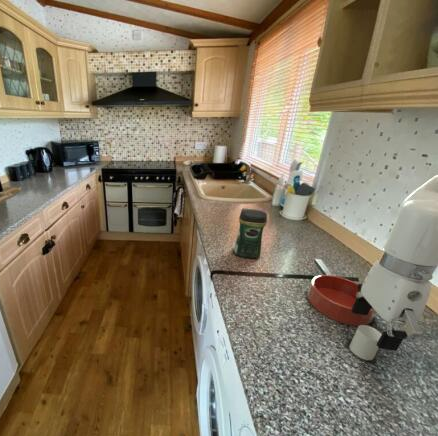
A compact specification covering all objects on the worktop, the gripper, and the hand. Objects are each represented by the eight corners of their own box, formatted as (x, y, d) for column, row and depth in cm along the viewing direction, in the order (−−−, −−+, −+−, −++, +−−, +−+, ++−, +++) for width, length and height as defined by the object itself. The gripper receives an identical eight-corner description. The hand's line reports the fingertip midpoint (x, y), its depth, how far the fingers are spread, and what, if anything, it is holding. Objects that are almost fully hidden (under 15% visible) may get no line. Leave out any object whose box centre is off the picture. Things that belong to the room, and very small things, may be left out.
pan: (354, 292, 75) (359, 278, 73) (386, 330, 62) (393, 315, 60) (300, 284, 79) (304, 271, 77) (319, 319, 65) (324, 305, 63)
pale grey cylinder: (366, 345, 58) (376, 326, 55) (378, 362, 54) (388, 343, 51) (345, 341, 59) (354, 323, 56) (355, 358, 55) (365, 338, 52)
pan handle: (319, 262, 85) (320, 259, 84) (333, 279, 76) (334, 276, 75) (313, 261, 85) (314, 258, 85) (325, 278, 76) (327, 275, 76)
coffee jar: (258, 250, 99) (267, 207, 91) (260, 260, 92) (270, 215, 84) (233, 246, 101) (240, 205, 94) (233, 256, 94) (241, 212, 87)
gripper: (472, 296, 38) (422, 370, 45) (396, 245, 54) (367, 305, 60) (416, 289, 40) (375, 361, 46) (357, 241, 55) (333, 300, 62)
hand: (371, 329), depth 53 cm, fingers open, 9 cm apart
